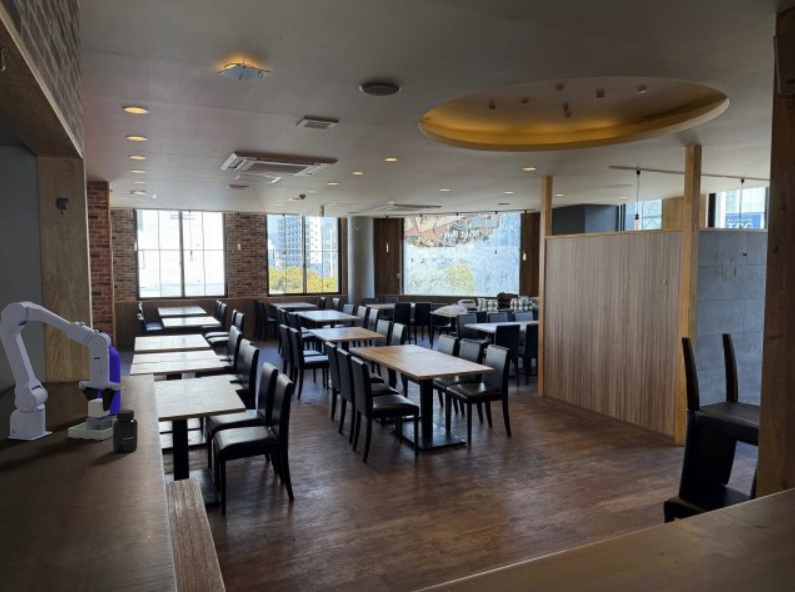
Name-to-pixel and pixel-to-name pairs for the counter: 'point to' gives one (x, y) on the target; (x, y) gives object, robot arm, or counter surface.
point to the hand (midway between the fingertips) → (100, 410)
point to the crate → (90, 432)
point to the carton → (96, 408)
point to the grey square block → (99, 423)
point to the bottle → (114, 378)
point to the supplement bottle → (125, 432)
